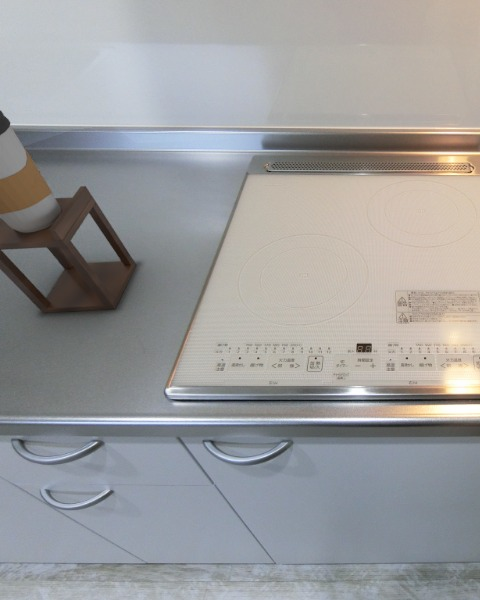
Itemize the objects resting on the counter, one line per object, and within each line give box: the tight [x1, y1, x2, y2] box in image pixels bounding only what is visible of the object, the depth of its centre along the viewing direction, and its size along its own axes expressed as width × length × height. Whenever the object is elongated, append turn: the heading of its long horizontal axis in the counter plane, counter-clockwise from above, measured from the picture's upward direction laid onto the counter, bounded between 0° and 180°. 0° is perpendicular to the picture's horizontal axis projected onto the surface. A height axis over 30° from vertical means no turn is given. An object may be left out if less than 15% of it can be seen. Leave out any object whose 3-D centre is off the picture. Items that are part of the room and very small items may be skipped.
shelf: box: [0, 185, 137, 314], centre depth 65 cm, size 11×10×16 cm
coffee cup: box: [0, 110, 61, 233], centre depth 55 cm, size 8×8×15 cm
